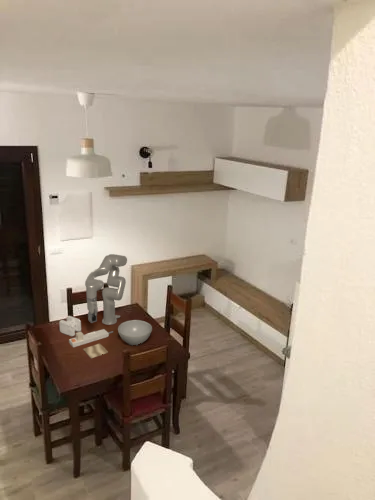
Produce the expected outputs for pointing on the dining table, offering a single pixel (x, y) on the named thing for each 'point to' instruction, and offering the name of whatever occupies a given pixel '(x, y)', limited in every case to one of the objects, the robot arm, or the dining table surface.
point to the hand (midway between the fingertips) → (92, 318)
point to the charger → (91, 317)
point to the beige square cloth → (95, 350)
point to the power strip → (88, 337)
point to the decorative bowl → (134, 331)
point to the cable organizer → (70, 326)
